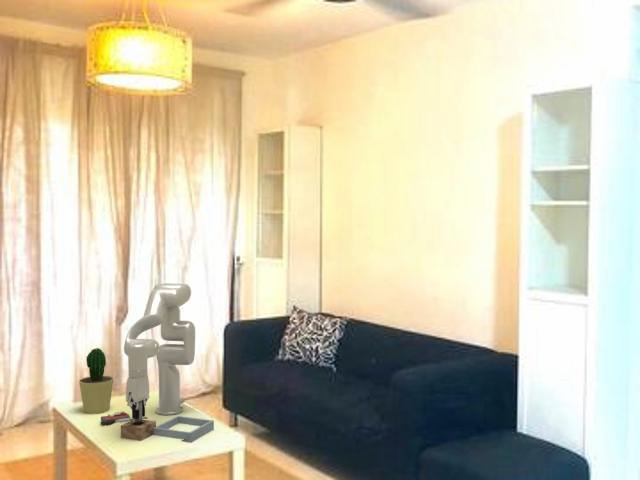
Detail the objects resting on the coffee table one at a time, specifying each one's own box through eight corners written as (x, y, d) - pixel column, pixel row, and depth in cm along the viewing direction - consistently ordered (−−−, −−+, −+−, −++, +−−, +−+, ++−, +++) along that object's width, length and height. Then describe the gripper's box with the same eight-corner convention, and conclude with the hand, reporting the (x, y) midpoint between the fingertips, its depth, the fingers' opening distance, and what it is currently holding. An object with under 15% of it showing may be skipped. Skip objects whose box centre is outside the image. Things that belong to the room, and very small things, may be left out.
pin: (137, 430, 274) (137, 395, 273) (146, 432, 272) (146, 396, 271) (130, 434, 269) (130, 398, 269) (139, 435, 268) (139, 399, 267)
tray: (178, 424, 288) (178, 415, 288) (213, 429, 281) (213, 420, 281) (153, 437, 271) (153, 427, 271) (190, 442, 264) (190, 433, 264)
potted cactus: (100, 404, 320) (99, 342, 319) (120, 409, 311) (120, 346, 310) (72, 411, 308) (71, 347, 307) (92, 417, 299) (91, 351, 298)
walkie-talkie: (101, 428, 284) (148, 421, 294) (101, 418, 284) (147, 411, 293) (97, 423, 292) (143, 416, 301) (97, 413, 291) (143, 406, 301)
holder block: (136, 432, 277) (136, 418, 277) (156, 435, 273) (156, 421, 273) (120, 440, 268) (120, 425, 267) (141, 443, 264) (140, 428, 264)
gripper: (142, 368, 279) (143, 411, 279) (117, 377, 263) (118, 422, 264) (157, 369, 276) (158, 413, 276) (132, 378, 261) (133, 424, 261)
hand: (138, 417), depth 270 cm, fingers closed on pin, 3 cm apart
